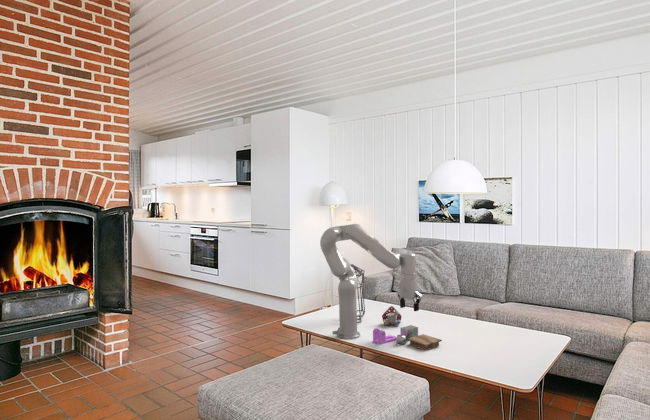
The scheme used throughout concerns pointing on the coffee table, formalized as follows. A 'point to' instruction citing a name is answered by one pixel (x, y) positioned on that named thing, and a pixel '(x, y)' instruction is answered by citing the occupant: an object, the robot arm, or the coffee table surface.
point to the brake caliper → (391, 317)
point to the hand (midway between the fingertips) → (409, 309)
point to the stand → (424, 341)
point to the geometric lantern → (360, 291)
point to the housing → (409, 331)
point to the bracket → (382, 337)
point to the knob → (401, 339)
